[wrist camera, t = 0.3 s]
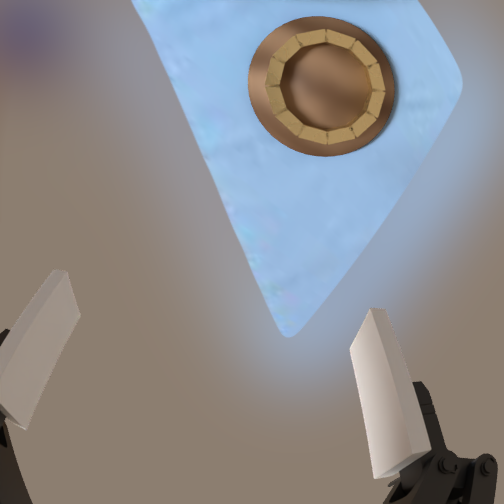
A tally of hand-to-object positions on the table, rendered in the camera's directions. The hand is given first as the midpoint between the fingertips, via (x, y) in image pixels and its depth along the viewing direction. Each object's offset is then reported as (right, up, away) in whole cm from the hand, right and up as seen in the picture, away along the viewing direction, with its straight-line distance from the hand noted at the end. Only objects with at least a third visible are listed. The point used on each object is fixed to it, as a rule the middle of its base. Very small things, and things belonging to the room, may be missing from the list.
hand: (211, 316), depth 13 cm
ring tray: (+10, +21, +18) cm, 30 cm away
